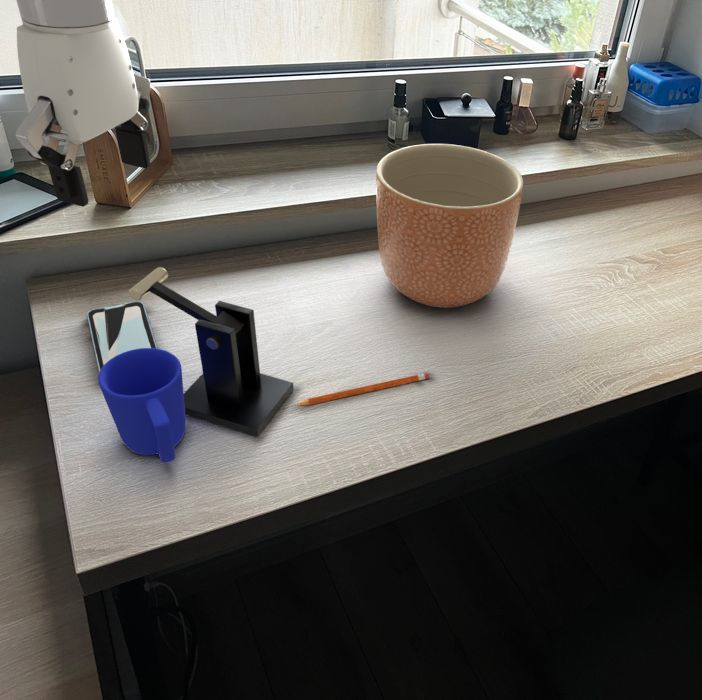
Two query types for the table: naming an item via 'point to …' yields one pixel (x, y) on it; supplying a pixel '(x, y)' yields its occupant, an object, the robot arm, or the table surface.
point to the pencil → (364, 389)
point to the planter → (445, 221)
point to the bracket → (233, 377)
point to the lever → (180, 300)
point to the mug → (146, 400)
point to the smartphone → (119, 330)
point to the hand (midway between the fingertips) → (106, 182)
